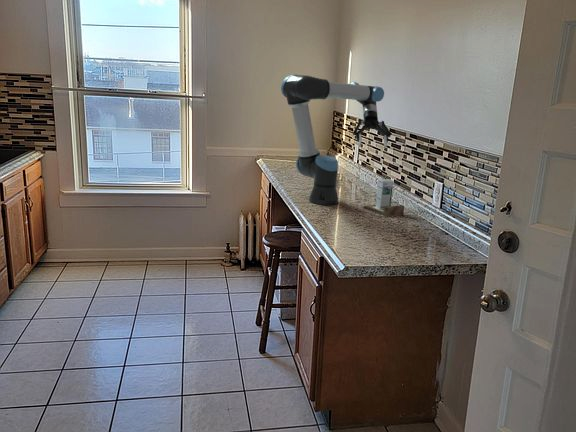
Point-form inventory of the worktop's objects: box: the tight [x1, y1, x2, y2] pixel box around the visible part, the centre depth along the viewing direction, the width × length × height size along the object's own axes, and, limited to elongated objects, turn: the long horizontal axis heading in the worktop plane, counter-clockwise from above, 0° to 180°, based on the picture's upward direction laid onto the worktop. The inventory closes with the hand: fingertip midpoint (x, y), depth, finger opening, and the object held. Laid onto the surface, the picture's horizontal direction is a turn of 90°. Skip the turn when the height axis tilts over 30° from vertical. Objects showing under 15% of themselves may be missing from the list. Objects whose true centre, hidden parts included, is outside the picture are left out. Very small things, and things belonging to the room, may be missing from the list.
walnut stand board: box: [363, 204, 405, 217], centre depth 255 cm, size 12×16×4 cm
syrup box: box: [375, 178, 394, 210], centre depth 254 cm, size 6×6×14 cm
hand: (373, 145), depth 268 cm, fingers open, 13 cm apart
